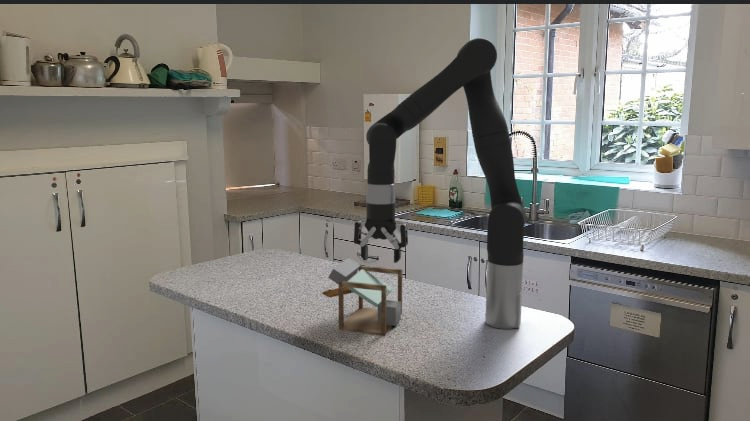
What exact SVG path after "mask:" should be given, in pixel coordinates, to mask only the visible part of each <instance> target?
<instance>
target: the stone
mask: <svg viewBox="0 0 750 421" xmlns="http://www.w3.org/2000/svg"><path fill="white" fill-rule="evenodd" d="M377 309H378V324H381V303H380V304H379V305H378V306H377ZM401 316H402V314H401V302H399V301H398V300H397V301H396V300H388V299H386V325H393V326H395V327H396V326H397V324H399V322H400V321H401Z"/></svg>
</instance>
